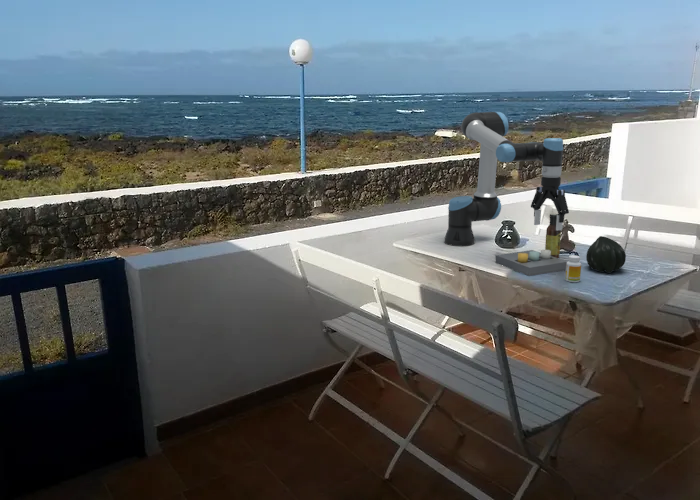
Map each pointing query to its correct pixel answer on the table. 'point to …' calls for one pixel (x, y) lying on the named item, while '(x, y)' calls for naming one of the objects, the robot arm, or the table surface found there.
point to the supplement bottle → (573, 269)
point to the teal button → (534, 256)
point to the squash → (605, 255)
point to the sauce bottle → (553, 237)
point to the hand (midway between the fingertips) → (547, 227)
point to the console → (531, 264)
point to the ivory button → (545, 254)
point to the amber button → (522, 257)
